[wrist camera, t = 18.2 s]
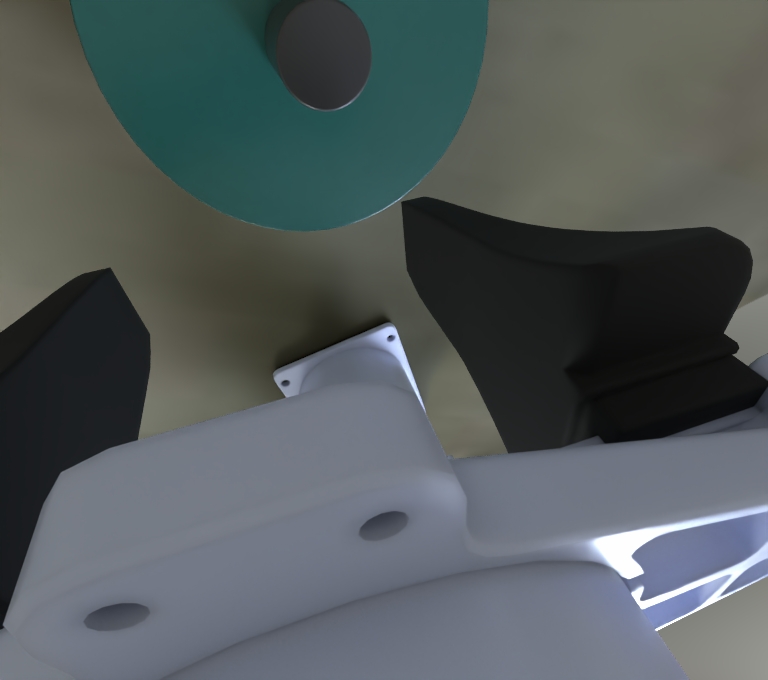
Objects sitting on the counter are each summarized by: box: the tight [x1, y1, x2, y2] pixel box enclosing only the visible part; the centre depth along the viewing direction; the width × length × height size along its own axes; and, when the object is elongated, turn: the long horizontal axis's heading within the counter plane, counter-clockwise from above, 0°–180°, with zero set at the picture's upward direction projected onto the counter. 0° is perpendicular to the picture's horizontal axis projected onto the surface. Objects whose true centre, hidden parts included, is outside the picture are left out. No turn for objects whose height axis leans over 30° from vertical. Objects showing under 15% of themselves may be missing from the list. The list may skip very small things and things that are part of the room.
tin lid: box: [70, 0, 489, 231], centre depth 12 cm, size 12×12×4 cm
